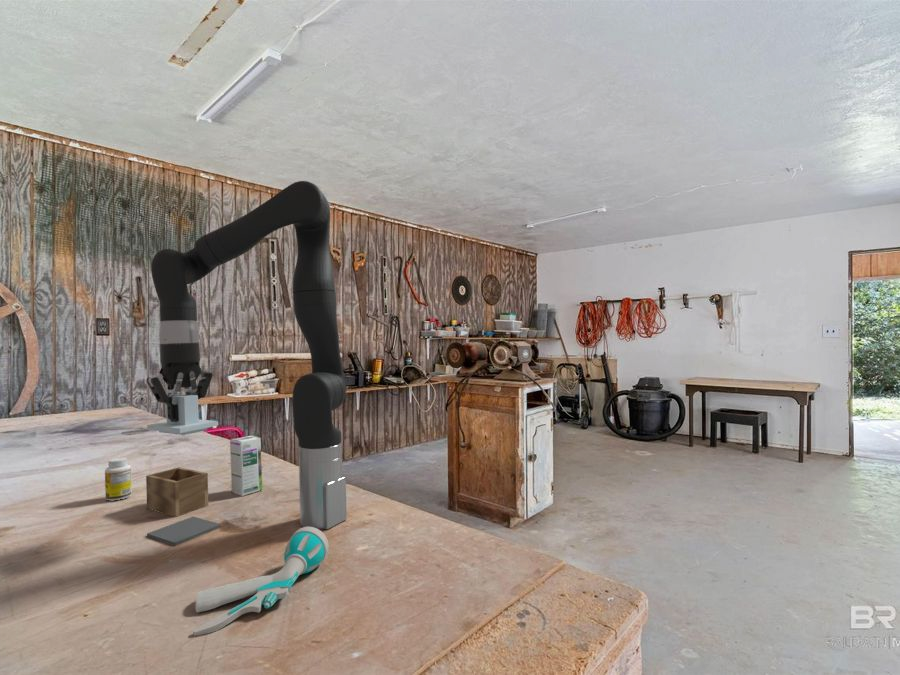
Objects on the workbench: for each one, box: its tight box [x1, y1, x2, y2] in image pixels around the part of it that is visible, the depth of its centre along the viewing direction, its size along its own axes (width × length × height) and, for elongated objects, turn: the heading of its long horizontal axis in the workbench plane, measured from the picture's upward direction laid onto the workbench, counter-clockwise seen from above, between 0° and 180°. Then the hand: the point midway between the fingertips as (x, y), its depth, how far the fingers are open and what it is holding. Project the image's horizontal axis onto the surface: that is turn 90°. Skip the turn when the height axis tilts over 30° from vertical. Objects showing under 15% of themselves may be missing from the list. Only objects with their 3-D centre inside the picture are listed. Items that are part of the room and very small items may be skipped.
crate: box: [145, 467, 209, 517], centre depth 112 cm, size 12×8×8 cm, turn 62°
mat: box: [146, 516, 222, 546], centre depth 97 cm, size 10×10×1 cm
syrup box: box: [229, 435, 263, 497], centre depth 122 cm, size 6×6×14 cm
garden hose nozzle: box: [192, 526, 330, 637], centre depth 74 cm, size 7×18×20 cm
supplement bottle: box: [104, 457, 133, 502], centre depth 119 cm, size 6×6×10 cm
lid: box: [146, 394, 219, 436], centre depth 100 cm, size 12×8×8 cm
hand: (182, 419), depth 100 cm, fingers closed on lid, 3 cm apart
